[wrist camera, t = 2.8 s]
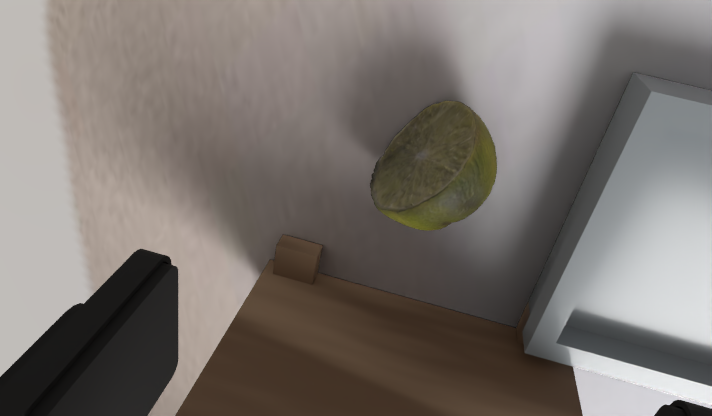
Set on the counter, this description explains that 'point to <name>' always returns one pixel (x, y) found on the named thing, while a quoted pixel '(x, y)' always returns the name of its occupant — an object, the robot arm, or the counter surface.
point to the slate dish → (637, 250)
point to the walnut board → (368, 354)
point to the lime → (436, 168)
